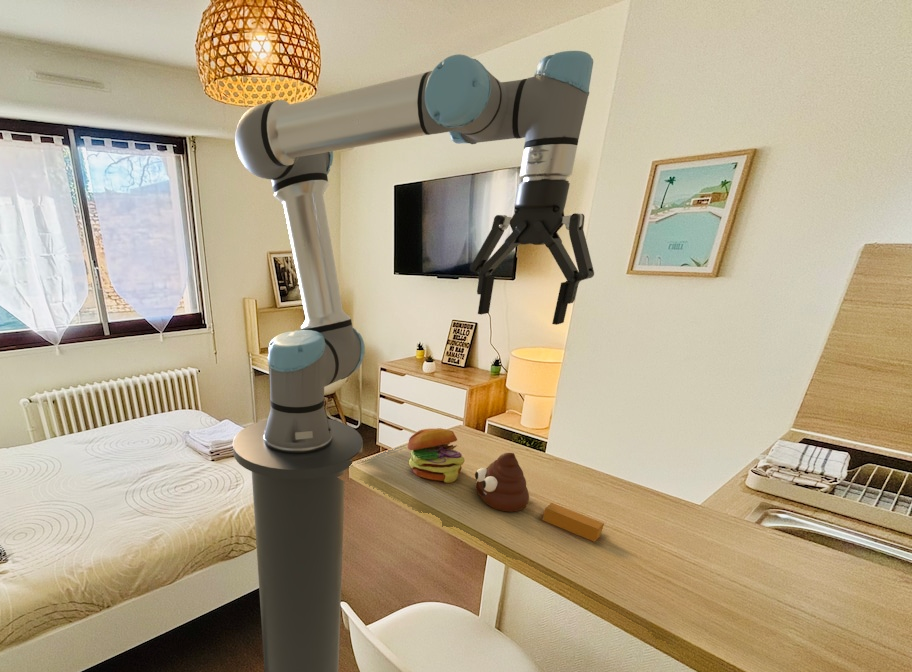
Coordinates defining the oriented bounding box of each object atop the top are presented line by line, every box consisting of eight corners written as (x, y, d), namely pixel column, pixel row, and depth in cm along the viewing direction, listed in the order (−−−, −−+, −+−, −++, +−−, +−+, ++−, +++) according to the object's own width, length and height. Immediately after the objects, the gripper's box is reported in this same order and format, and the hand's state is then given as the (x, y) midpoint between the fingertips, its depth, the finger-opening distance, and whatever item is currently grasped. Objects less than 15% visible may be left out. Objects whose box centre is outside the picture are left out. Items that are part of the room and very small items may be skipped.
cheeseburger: (431, 490, 85) (428, 436, 82) (398, 477, 94) (394, 429, 92) (474, 478, 88) (472, 426, 86) (438, 467, 98) (436, 420, 96)
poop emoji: (537, 512, 78) (549, 463, 74) (488, 515, 77) (497, 465, 73) (509, 483, 87) (518, 437, 83) (464, 485, 86) (472, 439, 82)
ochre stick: (541, 520, 76) (545, 507, 75) (548, 514, 78) (551, 502, 77) (594, 542, 71) (598, 529, 70) (600, 535, 72) (604, 523, 71)
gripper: (460, 183, 79) (445, 312, 88) (624, 171, 63) (585, 331, 72) (483, 186, 84) (466, 307, 93) (642, 175, 67) (602, 325, 76)
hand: (518, 318), depth 82 cm, fingers open, 13 cm apart
